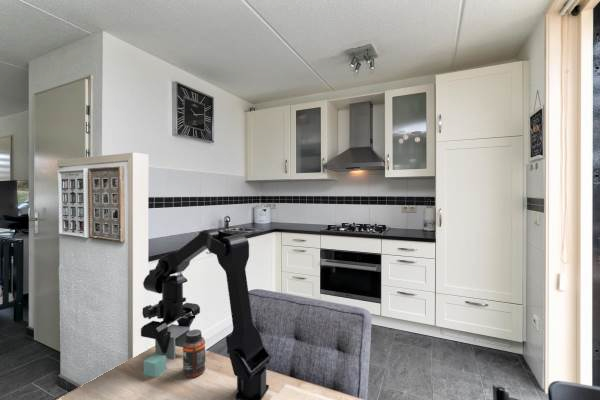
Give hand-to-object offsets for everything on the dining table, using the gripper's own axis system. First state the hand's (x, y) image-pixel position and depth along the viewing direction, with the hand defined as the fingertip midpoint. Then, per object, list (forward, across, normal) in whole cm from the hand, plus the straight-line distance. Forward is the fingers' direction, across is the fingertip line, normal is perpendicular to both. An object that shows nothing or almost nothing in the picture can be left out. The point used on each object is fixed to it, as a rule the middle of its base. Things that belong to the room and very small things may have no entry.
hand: (173, 346), depth 88 cm
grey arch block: (+2, 0, 0) cm, 2 cm away
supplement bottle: (+4, +4, +10) cm, 12 cm away
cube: (+4, +7, 0) cm, 8 cm away
